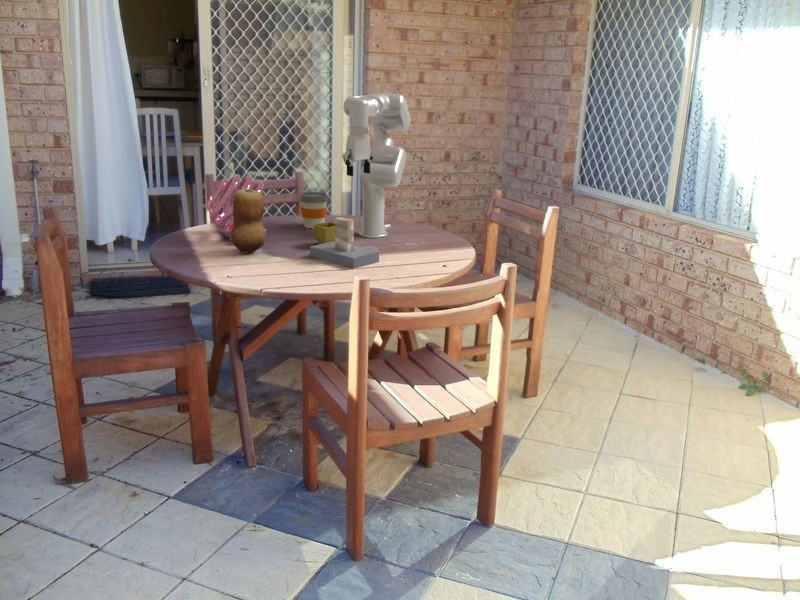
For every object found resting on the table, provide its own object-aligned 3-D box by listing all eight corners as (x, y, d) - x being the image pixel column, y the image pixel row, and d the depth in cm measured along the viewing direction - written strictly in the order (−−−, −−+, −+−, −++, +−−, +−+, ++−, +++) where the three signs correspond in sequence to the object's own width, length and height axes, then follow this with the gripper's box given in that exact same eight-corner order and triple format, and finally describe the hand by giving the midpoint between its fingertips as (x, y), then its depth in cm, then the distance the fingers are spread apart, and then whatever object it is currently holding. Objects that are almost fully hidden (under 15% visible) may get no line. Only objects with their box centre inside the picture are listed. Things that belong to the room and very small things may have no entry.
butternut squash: (263, 256, 288) (261, 193, 280) (229, 256, 287) (225, 192, 279) (267, 247, 301) (265, 187, 293) (234, 247, 300) (231, 186, 292)
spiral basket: (289, 187, 325) (235, 152, 315) (282, 215, 301) (224, 178, 292) (256, 233, 336) (203, 200, 327) (247, 263, 313) (190, 229, 303)
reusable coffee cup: (323, 230, 333) (322, 197, 328) (296, 228, 335) (296, 196, 330) (331, 224, 344) (330, 193, 340) (305, 223, 347) (305, 191, 342)
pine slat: (340, 256, 291) (340, 216, 285) (353, 260, 286) (353, 219, 281) (335, 258, 288) (335, 218, 283) (347, 261, 284) (348, 220, 279)
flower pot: (324, 249, 301) (324, 227, 298) (312, 245, 307) (312, 223, 304) (342, 246, 306) (342, 225, 303) (330, 242, 313) (330, 221, 310)
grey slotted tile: (335, 250, 300) (335, 240, 298) (378, 261, 285) (379, 251, 284) (310, 256, 290) (310, 246, 288) (353, 268, 275) (353, 258, 274)
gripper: (366, 129, 300) (366, 171, 305) (336, 131, 287) (336, 175, 293) (380, 130, 295) (379, 173, 301) (350, 133, 283) (350, 177, 288)
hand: (358, 174), depth 297 cm, fingers open, 9 cm apart
